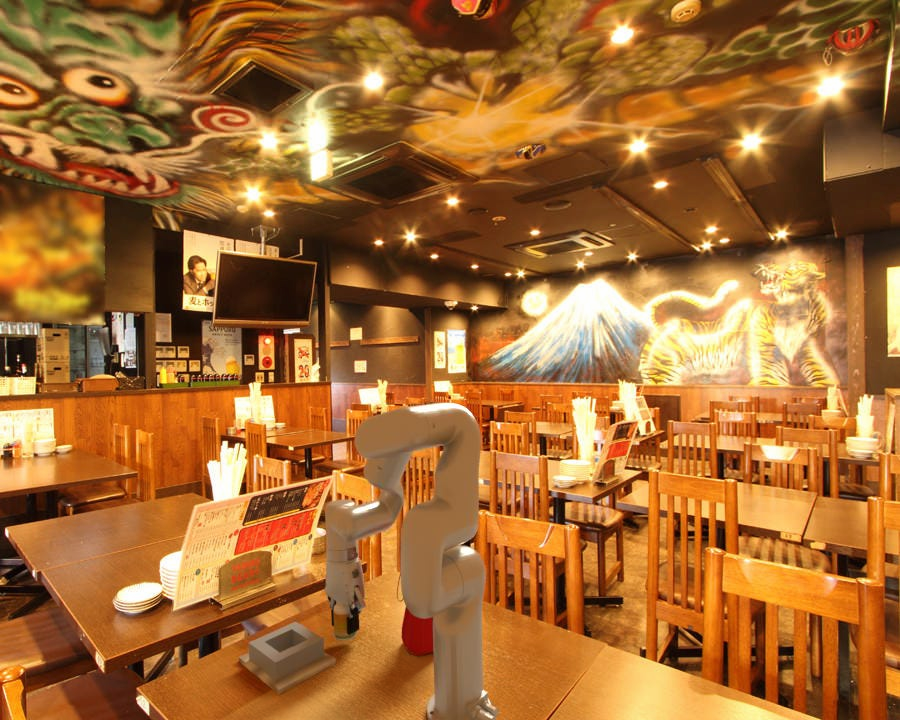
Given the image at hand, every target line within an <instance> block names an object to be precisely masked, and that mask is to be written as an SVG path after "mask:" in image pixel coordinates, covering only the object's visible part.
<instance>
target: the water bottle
mask: <svg viewBox="0 0 900 720" xmlns="http://www.w3.org/2000/svg"><path fill="white" fill-rule="evenodd" d="M400 581H401V571H400V574H399V577H398V582H397V588H396V598H397V600H398V602H400V603H401V602H404V599H403V598H402V599H401V600H399V594H398V592H399V586H400ZM433 617H434V616H433ZM433 617H431V618H426V619H423V618H418V617H416V616H414V615H413V614H412V613H411V612H410V611H409V610H408V608H407V607H406V606H405V608H404V614H403V620H402V624H401V640H402V644H403V646H404V647H405V648H406V650H407V652H409V653H410V654H411V655H412V656H413V655H415V656H420V657H421V656H424V655H427V654H428V655H429V654H430V653H433Z"/></svg>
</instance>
